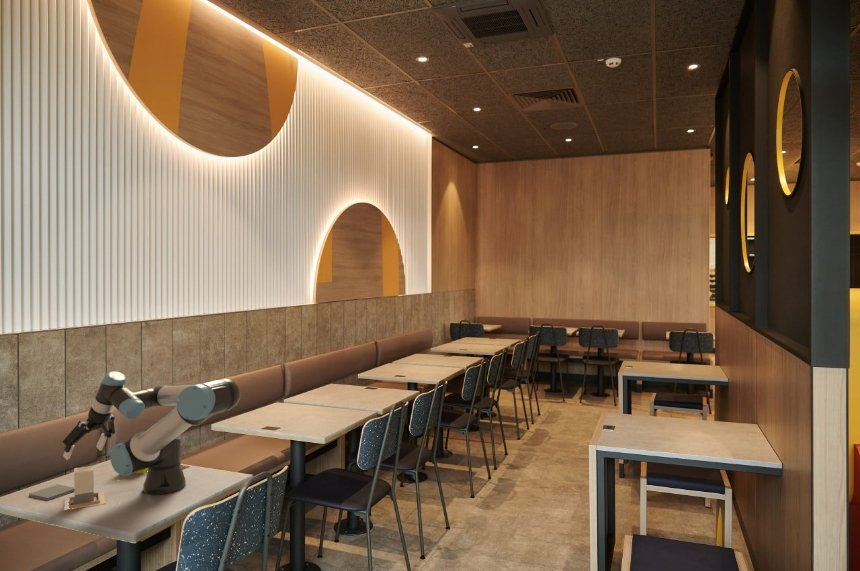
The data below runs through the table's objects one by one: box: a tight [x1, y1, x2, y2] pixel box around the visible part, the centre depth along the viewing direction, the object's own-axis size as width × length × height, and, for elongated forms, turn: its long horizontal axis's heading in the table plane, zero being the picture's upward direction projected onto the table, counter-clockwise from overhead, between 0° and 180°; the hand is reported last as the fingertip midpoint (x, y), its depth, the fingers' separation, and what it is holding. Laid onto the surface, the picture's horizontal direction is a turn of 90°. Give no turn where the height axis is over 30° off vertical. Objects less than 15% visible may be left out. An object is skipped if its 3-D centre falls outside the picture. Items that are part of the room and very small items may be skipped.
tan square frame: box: [68, 491, 106, 510], centre depth 216 cm, size 13×13×1 cm
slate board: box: [28, 484, 75, 501], centre depth 224 cm, size 11×11×1 cm
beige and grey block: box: [73, 465, 95, 505], centre depth 215 cm, size 6×6×12 cm
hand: (82, 453), depth 228 cm, fingers open, 13 cm apart
